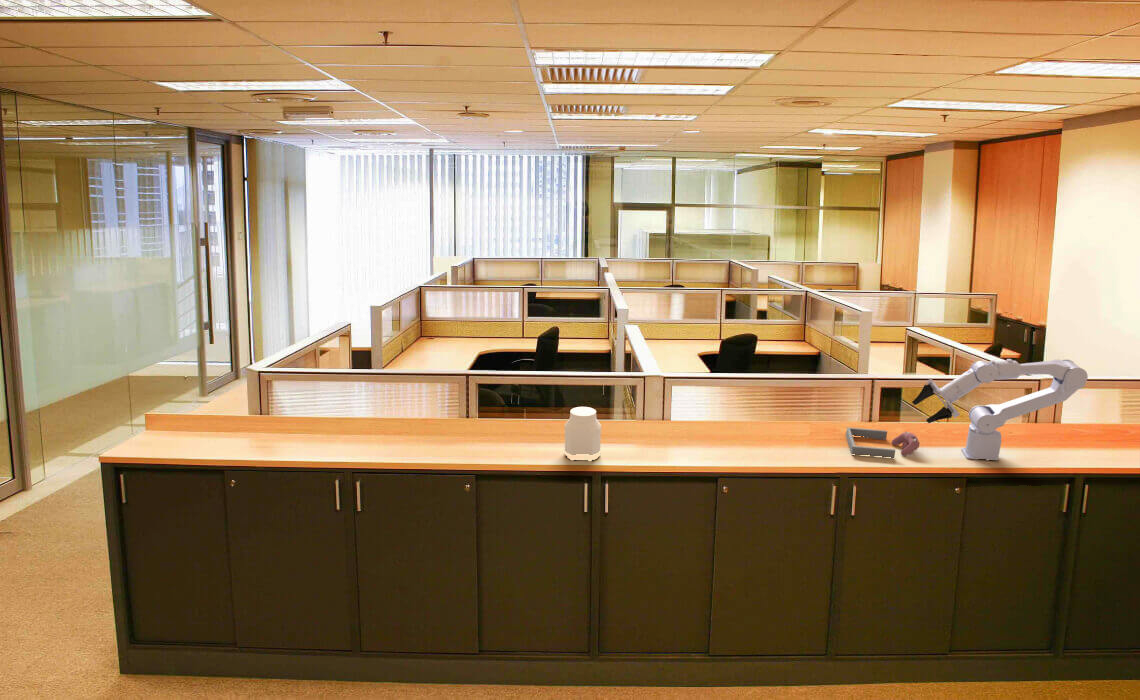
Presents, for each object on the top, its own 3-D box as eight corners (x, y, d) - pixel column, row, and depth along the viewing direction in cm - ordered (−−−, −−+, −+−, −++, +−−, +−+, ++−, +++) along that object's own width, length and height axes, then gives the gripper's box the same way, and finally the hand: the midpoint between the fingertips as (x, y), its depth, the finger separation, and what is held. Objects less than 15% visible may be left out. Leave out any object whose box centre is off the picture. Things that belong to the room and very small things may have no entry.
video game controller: (912, 460, 263) (924, 443, 261) (900, 454, 263) (912, 437, 261) (901, 448, 273) (913, 431, 271) (889, 442, 272) (901, 425, 270)
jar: (563, 460, 256) (564, 416, 252) (565, 448, 266) (565, 405, 261) (600, 461, 256) (601, 417, 252) (600, 449, 265) (601, 406, 261)
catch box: (885, 438, 277) (886, 430, 276) (894, 459, 261) (895, 450, 260) (845, 435, 279) (846, 427, 278) (851, 455, 263) (852, 446, 262)
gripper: (940, 367, 261) (903, 391, 265) (968, 401, 252) (930, 426, 256) (946, 374, 266) (910, 398, 270) (974, 408, 257) (936, 432, 261)
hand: (920, 412), depth 264 cm, fingers open, 7 cm apart
